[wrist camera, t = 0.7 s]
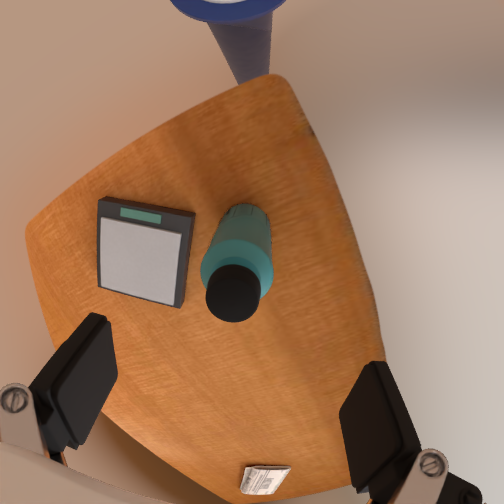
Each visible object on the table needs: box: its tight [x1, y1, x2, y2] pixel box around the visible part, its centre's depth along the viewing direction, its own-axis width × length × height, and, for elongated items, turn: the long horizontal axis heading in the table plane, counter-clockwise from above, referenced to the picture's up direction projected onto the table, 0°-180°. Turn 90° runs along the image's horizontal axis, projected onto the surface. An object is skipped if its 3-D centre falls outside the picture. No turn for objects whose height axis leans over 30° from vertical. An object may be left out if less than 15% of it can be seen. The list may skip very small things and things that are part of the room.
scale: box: [97, 196, 195, 309], centre depth 40 cm, size 14×14×3 cm
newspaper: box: [240, 466, 291, 495], centre depth 66 cm, size 23×12×2 cm, turn 170°
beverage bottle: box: [200, 203, 273, 322], centre depth 30 cm, size 6×7×20 cm
